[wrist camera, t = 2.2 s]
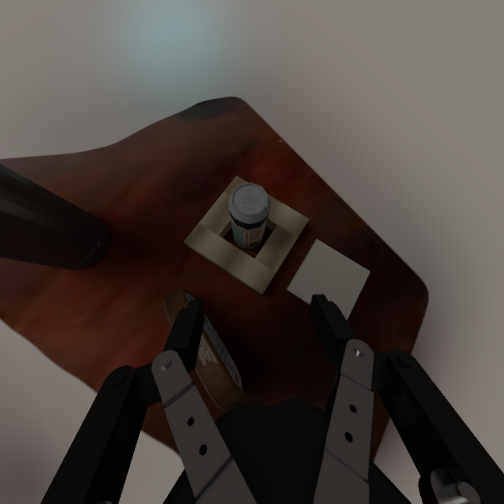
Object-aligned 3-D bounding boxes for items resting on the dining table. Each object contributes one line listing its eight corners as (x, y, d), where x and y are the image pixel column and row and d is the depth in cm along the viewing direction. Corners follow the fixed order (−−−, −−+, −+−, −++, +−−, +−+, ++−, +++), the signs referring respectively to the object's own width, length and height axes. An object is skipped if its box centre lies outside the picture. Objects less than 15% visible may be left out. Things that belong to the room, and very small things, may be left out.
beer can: (266, 229, 31) (278, 188, 20) (255, 254, 30) (262, 226, 19) (240, 219, 32) (238, 173, 20) (229, 243, 30) (220, 209, 19)
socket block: (189, 247, 30) (183, 241, 27) (237, 186, 33) (236, 175, 30) (260, 294, 29) (262, 294, 26) (303, 226, 32) (309, 219, 29)
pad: (286, 289, 29) (287, 289, 28) (315, 240, 31) (316, 239, 31) (342, 326, 28) (344, 326, 27) (368, 272, 30) (370, 271, 30)
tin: (176, 298, 28) (148, 298, 20) (194, 287, 29) (174, 281, 20) (229, 391, 25) (221, 434, 17) (248, 376, 26) (249, 411, 18)
